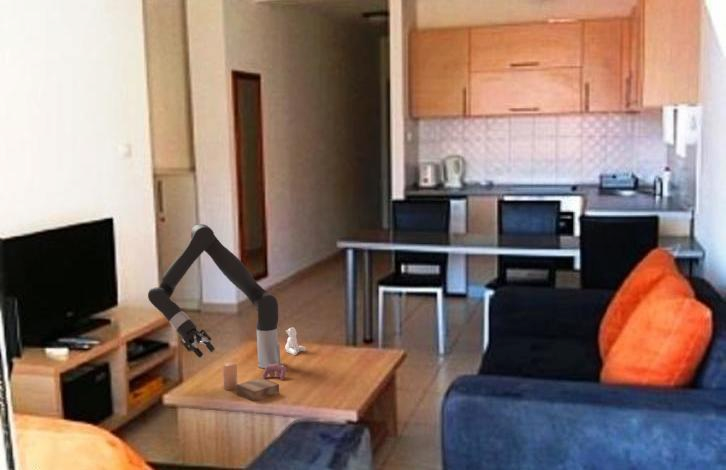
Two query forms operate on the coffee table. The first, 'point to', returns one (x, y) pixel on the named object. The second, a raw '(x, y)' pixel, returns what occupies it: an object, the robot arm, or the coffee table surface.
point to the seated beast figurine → (293, 343)
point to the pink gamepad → (275, 367)
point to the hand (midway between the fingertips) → (207, 353)
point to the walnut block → (258, 389)
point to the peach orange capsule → (230, 376)
